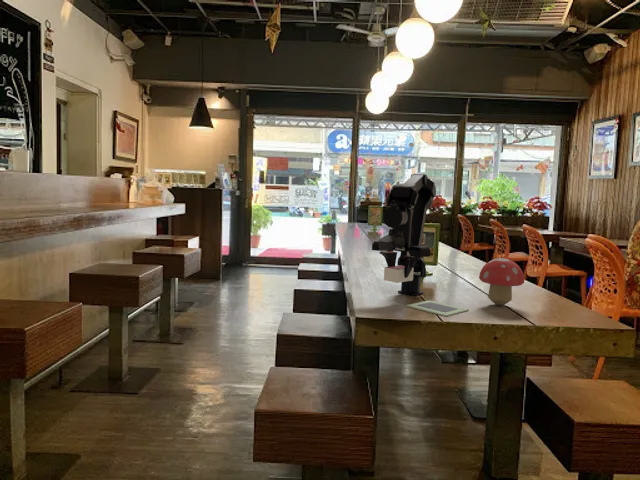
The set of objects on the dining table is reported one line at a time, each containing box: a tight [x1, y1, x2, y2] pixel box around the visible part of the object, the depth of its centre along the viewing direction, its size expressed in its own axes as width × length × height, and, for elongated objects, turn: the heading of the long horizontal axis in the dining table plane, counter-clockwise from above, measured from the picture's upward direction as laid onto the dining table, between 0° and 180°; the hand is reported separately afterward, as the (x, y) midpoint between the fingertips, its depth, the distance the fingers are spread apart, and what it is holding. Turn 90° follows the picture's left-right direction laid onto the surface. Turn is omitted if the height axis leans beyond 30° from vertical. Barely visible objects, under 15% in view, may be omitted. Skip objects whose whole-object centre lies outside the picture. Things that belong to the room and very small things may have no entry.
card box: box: [383, 265, 414, 284], centre depth 154 cm, size 8×5×4 cm, turn 134°
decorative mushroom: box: [478, 257, 525, 306], centre depth 157 cm, size 13×13×15 cm
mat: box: [406, 300, 470, 317], centre depth 149 cm, size 12×14×1 cm
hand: (398, 276), depth 154 cm, fingers closed on card box, 5 cm apart
